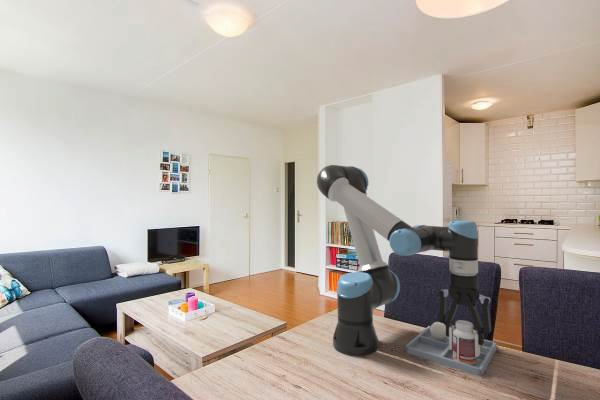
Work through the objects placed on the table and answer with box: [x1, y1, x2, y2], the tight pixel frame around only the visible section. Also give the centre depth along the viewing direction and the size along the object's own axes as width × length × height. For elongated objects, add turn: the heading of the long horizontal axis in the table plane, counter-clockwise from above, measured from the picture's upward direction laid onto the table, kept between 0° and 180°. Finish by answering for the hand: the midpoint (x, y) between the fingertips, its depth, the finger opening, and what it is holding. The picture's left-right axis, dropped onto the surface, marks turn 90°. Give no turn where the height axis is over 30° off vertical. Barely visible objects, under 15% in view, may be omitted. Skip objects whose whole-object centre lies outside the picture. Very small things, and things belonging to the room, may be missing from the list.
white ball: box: [430, 321, 448, 341], centre depth 107 cm, size 6×6×6 cm
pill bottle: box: [453, 319, 476, 365], centre depth 93 cm, size 6×6×11 cm
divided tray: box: [404, 325, 498, 378], centre depth 100 cm, size 21×21×3 cm
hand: (464, 351), depth 93 cm, fingers closed on pill bottle, 6 cm apart
